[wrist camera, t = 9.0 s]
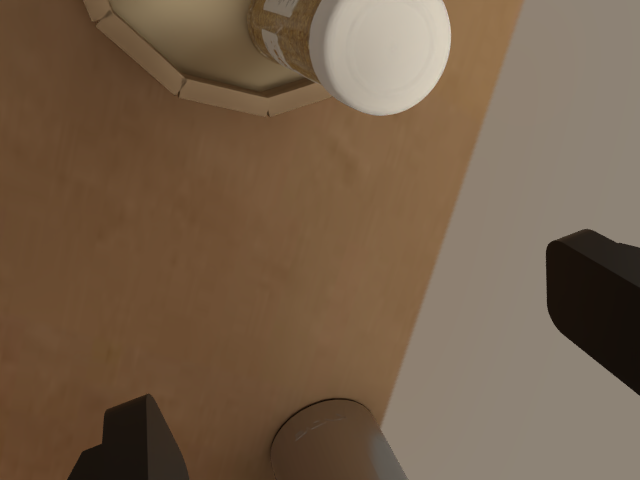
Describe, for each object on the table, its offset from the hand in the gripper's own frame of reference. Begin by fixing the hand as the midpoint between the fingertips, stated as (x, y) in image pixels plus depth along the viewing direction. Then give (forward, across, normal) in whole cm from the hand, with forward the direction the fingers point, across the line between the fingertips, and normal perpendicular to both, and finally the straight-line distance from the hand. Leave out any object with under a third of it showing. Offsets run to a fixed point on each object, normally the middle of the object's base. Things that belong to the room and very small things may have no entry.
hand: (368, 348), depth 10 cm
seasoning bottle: (+23, -5, -4) cm, 23 cm away
